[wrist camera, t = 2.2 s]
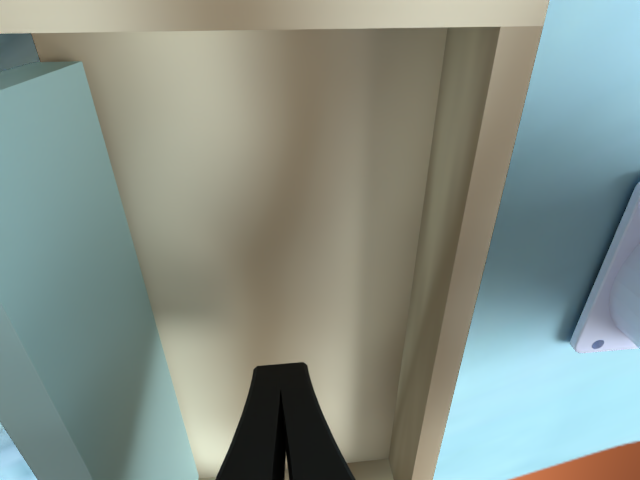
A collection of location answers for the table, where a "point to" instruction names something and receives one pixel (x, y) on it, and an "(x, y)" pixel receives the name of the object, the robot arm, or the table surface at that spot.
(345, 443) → the beige tray
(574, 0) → the table surface
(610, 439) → the table surface
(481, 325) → the table surface
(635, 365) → the table surface
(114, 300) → the tailgate
